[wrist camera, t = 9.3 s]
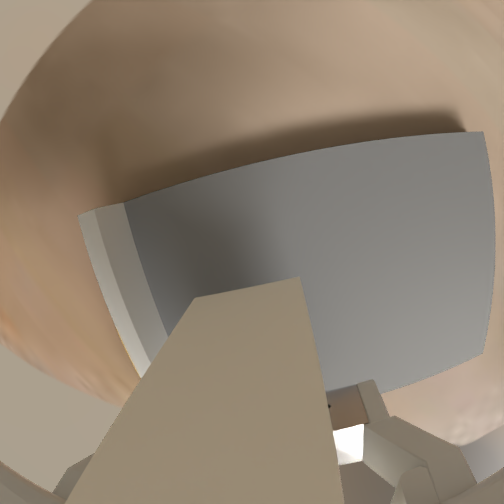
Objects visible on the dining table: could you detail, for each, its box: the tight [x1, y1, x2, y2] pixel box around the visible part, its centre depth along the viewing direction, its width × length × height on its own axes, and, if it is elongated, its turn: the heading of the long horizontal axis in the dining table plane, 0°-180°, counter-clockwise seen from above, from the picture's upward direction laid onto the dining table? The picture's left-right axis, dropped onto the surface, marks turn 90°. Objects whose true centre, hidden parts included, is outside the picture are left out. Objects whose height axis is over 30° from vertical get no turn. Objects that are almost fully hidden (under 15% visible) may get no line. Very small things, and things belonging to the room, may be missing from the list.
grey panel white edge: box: [78, 132, 495, 394], centre depth 12 cm, size 14×20×4 cm
